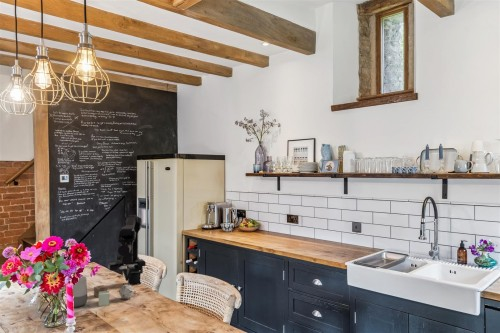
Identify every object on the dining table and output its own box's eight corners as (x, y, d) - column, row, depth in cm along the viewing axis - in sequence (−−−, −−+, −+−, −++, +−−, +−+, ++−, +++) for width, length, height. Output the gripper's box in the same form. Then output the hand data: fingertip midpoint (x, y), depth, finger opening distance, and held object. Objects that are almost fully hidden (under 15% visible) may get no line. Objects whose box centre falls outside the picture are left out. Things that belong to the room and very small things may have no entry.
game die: (129, 304, 208) (141, 288, 211) (123, 304, 200) (135, 287, 203) (117, 295, 211) (129, 279, 213) (111, 294, 203) (123, 278, 205)
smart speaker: (63, 308, 192) (63, 280, 192) (71, 302, 201) (72, 275, 201) (82, 308, 192) (83, 280, 192) (90, 302, 201) (90, 275, 201)
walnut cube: (102, 293, 214) (102, 284, 214) (107, 296, 211) (107, 286, 211) (94, 296, 211) (94, 286, 211) (98, 298, 207) (98, 288, 207)
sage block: (108, 302, 202) (109, 290, 202) (109, 305, 197) (109, 293, 197) (98, 303, 200) (98, 291, 200) (98, 306, 195) (98, 294, 195)
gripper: (140, 247, 218) (139, 274, 218) (105, 250, 208) (105, 279, 208) (146, 250, 209) (145, 279, 209) (110, 254, 199) (109, 284, 199)
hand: (126, 280), depth 207 cm, fingers closed
